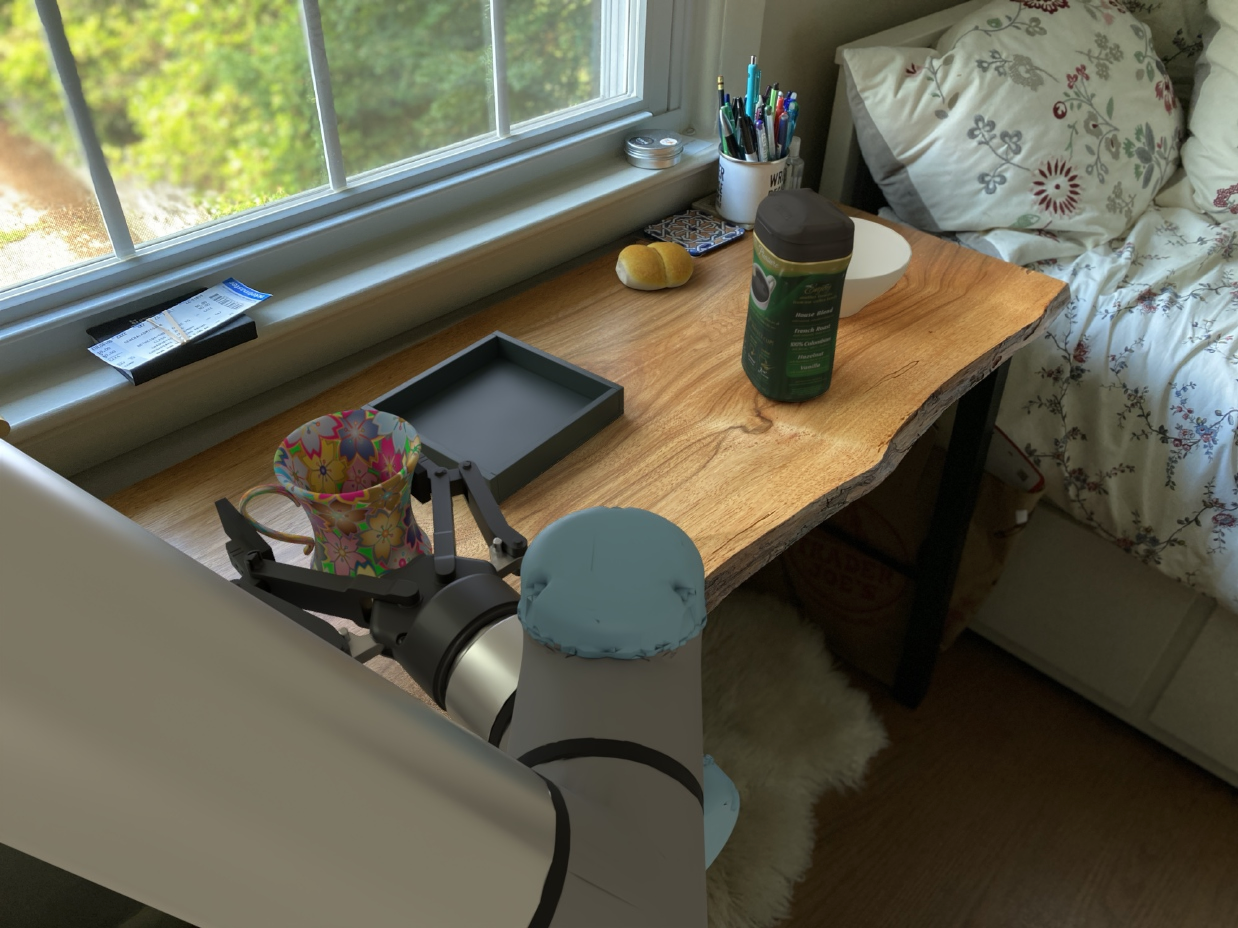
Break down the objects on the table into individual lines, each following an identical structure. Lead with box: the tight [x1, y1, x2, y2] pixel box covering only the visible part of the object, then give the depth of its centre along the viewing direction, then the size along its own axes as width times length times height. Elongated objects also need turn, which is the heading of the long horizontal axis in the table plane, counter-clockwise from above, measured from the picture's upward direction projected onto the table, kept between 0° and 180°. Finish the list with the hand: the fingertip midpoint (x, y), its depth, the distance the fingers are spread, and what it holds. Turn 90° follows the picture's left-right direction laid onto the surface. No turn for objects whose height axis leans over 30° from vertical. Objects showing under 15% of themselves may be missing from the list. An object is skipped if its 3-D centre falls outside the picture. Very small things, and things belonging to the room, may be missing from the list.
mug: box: [238, 409, 433, 602], centre depth 63 cm, size 12×9×11 cm
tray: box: [359, 330, 625, 506], centre depth 86 cm, size 18×17×3 cm
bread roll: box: [615, 241, 694, 291], centre depth 109 cm, size 8×9×4 cm
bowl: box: [839, 216, 913, 319], centre depth 103 cm, size 16×16×7 cm
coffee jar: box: [740, 187, 855, 403], centre depth 87 cm, size 10×8×19 cm
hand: (303, 478), depth 64 cm, fingers closed on mug, 11 cm apart
